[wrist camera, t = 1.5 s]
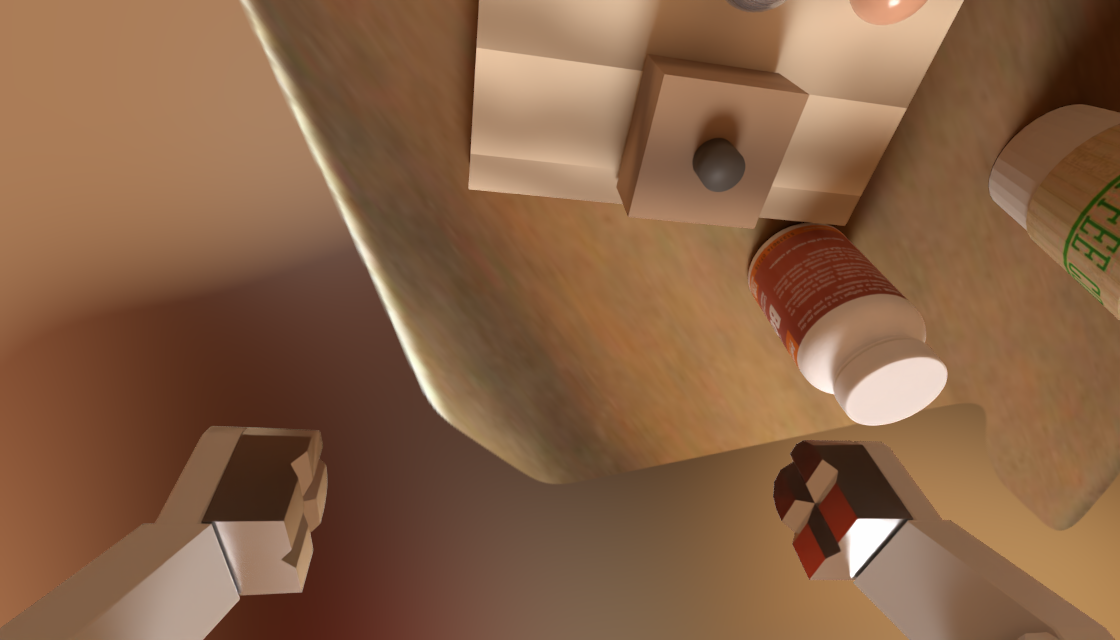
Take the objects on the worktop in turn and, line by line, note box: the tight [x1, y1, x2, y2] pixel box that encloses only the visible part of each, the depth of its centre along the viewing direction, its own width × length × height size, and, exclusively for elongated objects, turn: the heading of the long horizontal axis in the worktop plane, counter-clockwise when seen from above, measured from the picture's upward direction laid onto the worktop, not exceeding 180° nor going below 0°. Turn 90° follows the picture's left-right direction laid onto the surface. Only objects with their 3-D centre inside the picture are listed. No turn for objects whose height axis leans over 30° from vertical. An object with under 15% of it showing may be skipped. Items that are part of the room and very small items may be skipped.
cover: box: [616, 54, 809, 229], centre depth 24 cm, size 6×6×4 cm
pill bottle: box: [748, 222, 948, 425], centre depth 30 cm, size 6×6×11 cm
